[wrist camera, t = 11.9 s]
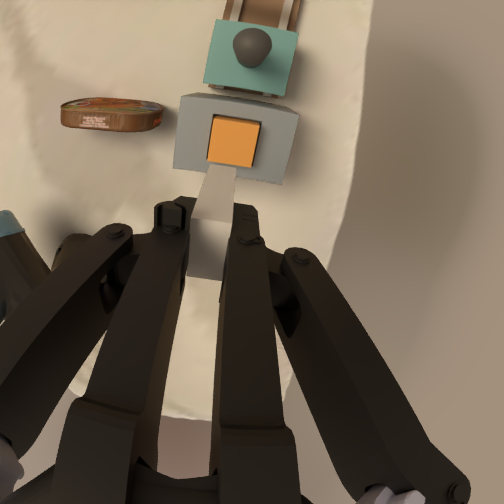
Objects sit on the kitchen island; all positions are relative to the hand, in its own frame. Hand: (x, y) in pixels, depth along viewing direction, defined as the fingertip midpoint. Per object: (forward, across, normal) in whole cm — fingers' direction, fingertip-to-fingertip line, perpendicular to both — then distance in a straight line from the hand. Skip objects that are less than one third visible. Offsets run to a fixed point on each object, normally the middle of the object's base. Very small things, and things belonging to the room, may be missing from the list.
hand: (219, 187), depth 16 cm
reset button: (+15, 0, 0) cm, 15 cm away
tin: (+24, -17, +1) cm, 29 cm away
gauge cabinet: (+23, 0, 0) cm, 23 cm away
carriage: (+20, 0, +10) cm, 23 cm away
